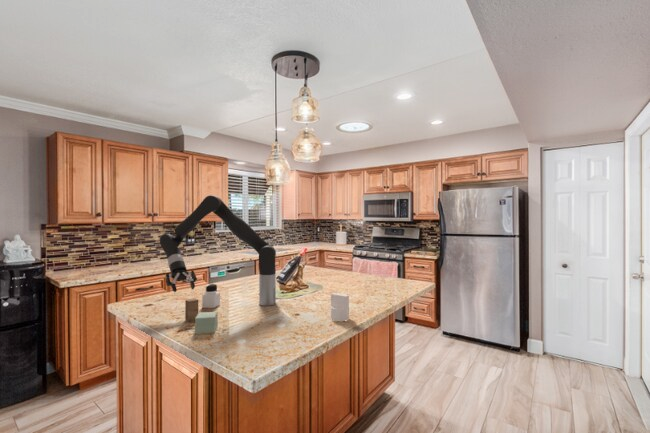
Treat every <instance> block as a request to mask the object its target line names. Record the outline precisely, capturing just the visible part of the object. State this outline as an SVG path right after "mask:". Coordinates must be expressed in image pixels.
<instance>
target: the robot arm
mask: <svg viewBox="0 0 650 433" xmlns="http://www.w3.org/2000/svg"><path fill="white" fill-rule="evenodd" d="M211 213H213V214H214V215H216V216H217V217H219V219H221V220H222V221H223V222H224V224H225V225H226V227H227V228H228V229H229V230H230V232H231V233H232V234H233V235H234V236H236V238H238V240H240V241H242V242H244V243H245V244H247V245H248V246H250V247H251V248H253V249H254V251H255V252H256V253H257V254H258V271H259V272H258V274H259V275H258V278H259V279H258V280H259V283H258V285H259V286H258V287H259V290H258V291H259V292H258V293H259V294H258V295H259V296H258V297H259V298H258V300H259V301H258V304H259V306H262V307H267V306H269V307H271V306H274V305H275V306H276V303H277V302H276V300H277V296H276V294H277V292H276V291H277V290H276V288H277V287H276V286H277V284H276V276H277V275H276V274H277V272H276V270H277V269H276V256H277V251H276V249H275V248H274V246H272V245H271V244H269V243H268V242H267V241H265V240H264V239H263V238H261V237H260V235H259V234H258V233H257V232H256V231H255V230H254V229H253V228H252V227H251V226H250V225H249V224H248V223H247V222H246V221H245V220H243V219H242V217H240V216H239V215H237V214H236V213H234V212H233V210H231V209H230V208H229V207H228V206H227V205H226V203H225V202H224V201H223V200H222V199H221V197H219V196H217V195H213V194H210V195H207V196H205V197H204V199H203V200H202V201H201V202H200V203H199V205H198V206H197V207H196V208H195V209H194V210H193V211H192V213H190V214H189V215H188V216H187V217H186V218H185V219H184V220H182V222H180V223H179V224H178V225H177V226H175V228H174V233H175V235H172V234H170V233H163V234H162V235H161V236H160V237H159V245H160V246H161V248H162V250H163V251H164V253H165V255H166V259H167V265H168V268H169V271H170V273H166V274H165V277H164V279H165V283H166V284H165V285H166V286H167V287H169V286H170V287H171V290H172V291H173V292H174V293H176V292H177V290H178V289H177V286H176V283H177V282H184V281H185V282H187V283H189V285H190V288H191V290H194V289H195V287H196V285H195V283H196V282H197V275H196V274H195V271H194V270H191V271H188V270H187V266H186V263H185V261H184V260H185V259H184V257H183V256H182V253H181V250H180V248H179V246H180V245H181V243H183V240H184V239H185V238H186V236H188V235H189V234H190V233H191V232H192V231H193V230H194V229H195V228H196V227H197V226H198V224H199V223H200V222H201V221H202V220H203V219H204V218H205V217H206V216H208V215H209V214H211ZM171 279H173V280H172V281H171Z"/></svg>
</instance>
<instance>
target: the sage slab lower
mask: <svg viewBox="0 0 650 433" xmlns="http://www.w3.org/2000/svg"><path fill="white" fill-rule="evenodd" d="M218 321H219V319H217V322H216V324H215V325H212V326H196V327H195V326H194V334H197V335H198V334H214V333H215V332H216V330H217V328H218Z"/></svg>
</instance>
